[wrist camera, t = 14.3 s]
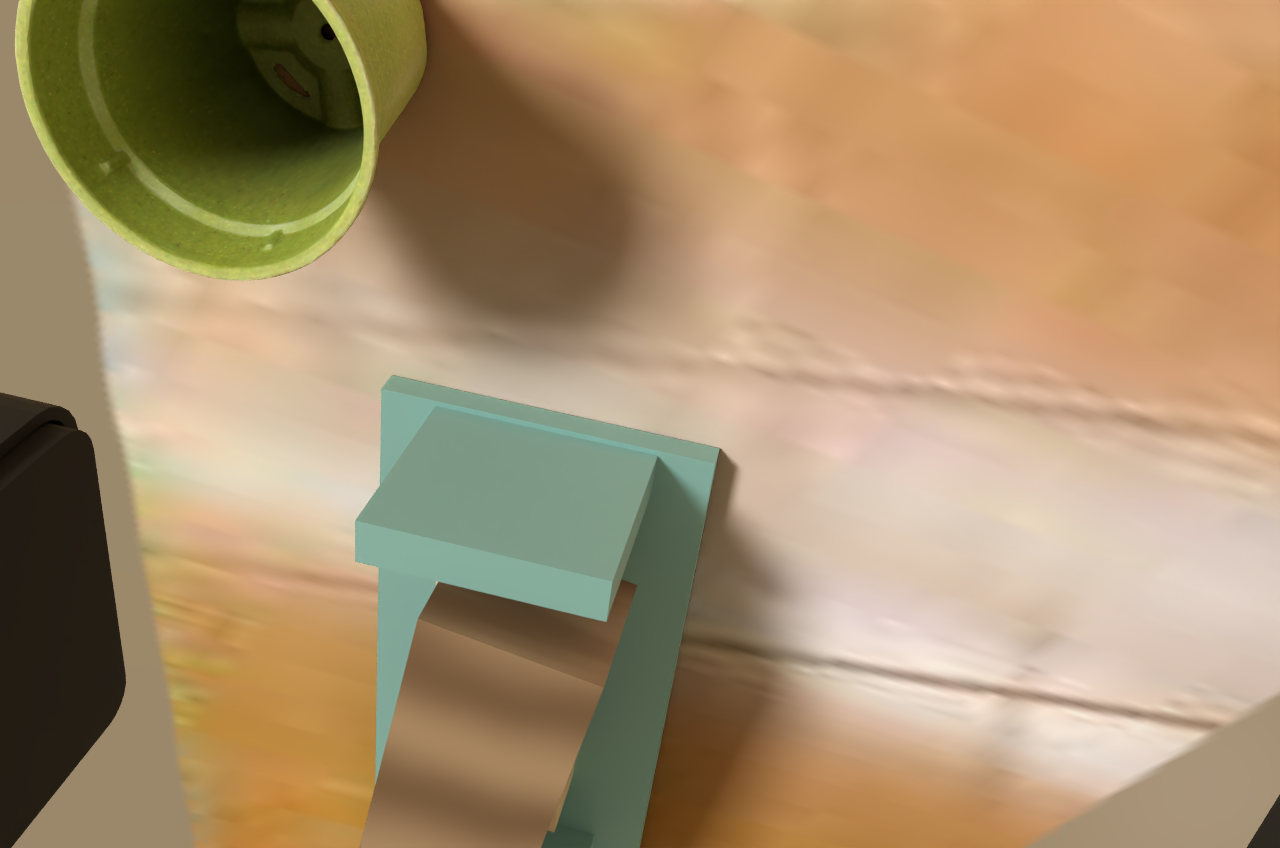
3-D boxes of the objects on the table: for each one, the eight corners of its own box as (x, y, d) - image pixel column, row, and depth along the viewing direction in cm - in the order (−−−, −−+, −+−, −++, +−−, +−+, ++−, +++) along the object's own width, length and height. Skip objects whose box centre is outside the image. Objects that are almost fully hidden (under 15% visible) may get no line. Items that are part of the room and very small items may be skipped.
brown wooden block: (528, 864, 49) (491, 973, 45) (391, 813, 49) (341, 917, 45) (637, 585, 40) (603, 687, 36) (470, 523, 40) (417, 618, 36)
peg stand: (392, 375, 43) (292, 500, 36) (719, 448, 42) (679, 592, 35) (383, 787, 55) (307, 939, 48) (638, 854, 53) (596, 1019, 47)
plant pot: (294, -220, 33) (117, -198, 26) (546, 25, 35) (447, 109, 28) (142, 25, 38) (-43, 103, 31) (373, 229, 40) (250, 347, 33)
